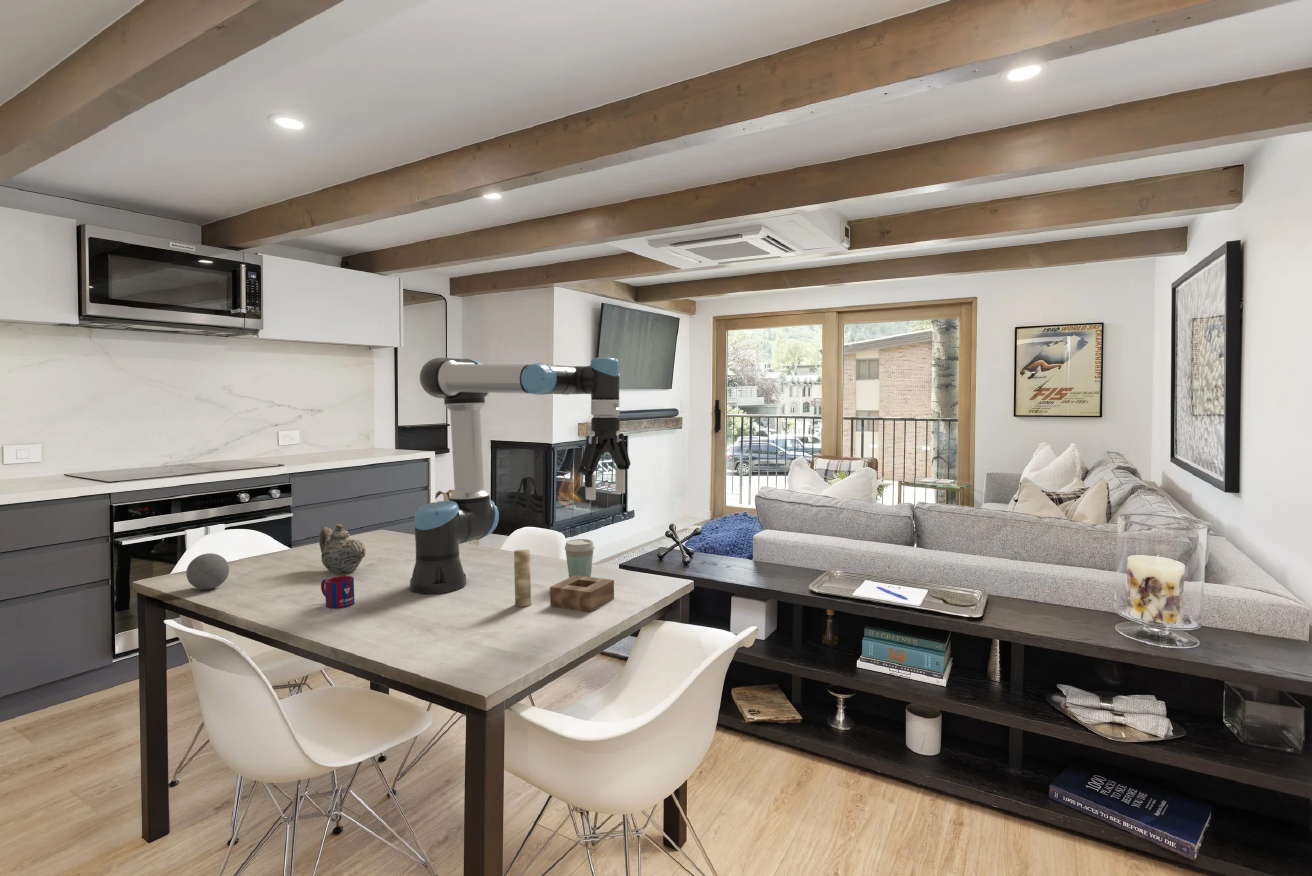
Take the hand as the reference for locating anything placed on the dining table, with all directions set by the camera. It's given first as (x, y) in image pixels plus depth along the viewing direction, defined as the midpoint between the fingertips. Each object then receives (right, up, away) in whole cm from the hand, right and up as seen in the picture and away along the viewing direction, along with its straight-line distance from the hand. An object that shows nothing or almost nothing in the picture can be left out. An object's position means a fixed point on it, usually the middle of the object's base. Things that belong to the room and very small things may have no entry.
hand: (606, 496), depth 176 cm
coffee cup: (-9, -26, +13) cm, 31 cm away
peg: (-21, -27, -6) cm, 35 cm away
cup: (-70, -28, -5) cm, 75 cm away
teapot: (-84, -26, +27) cm, 92 cm away
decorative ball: (-113, -27, +10) cm, 116 cm away
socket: (-6, -27, -4) cm, 28 cm away
